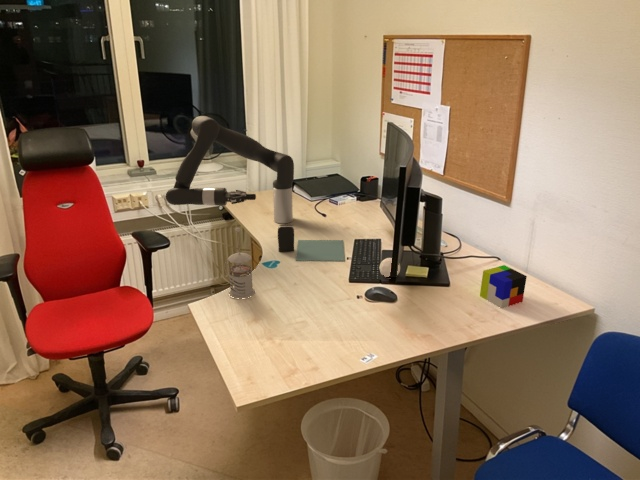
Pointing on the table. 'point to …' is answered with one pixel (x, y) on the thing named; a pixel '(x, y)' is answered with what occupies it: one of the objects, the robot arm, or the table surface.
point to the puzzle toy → (502, 286)
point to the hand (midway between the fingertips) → (255, 196)
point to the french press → (240, 282)
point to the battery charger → (285, 238)
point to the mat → (320, 250)
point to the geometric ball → (387, 267)
